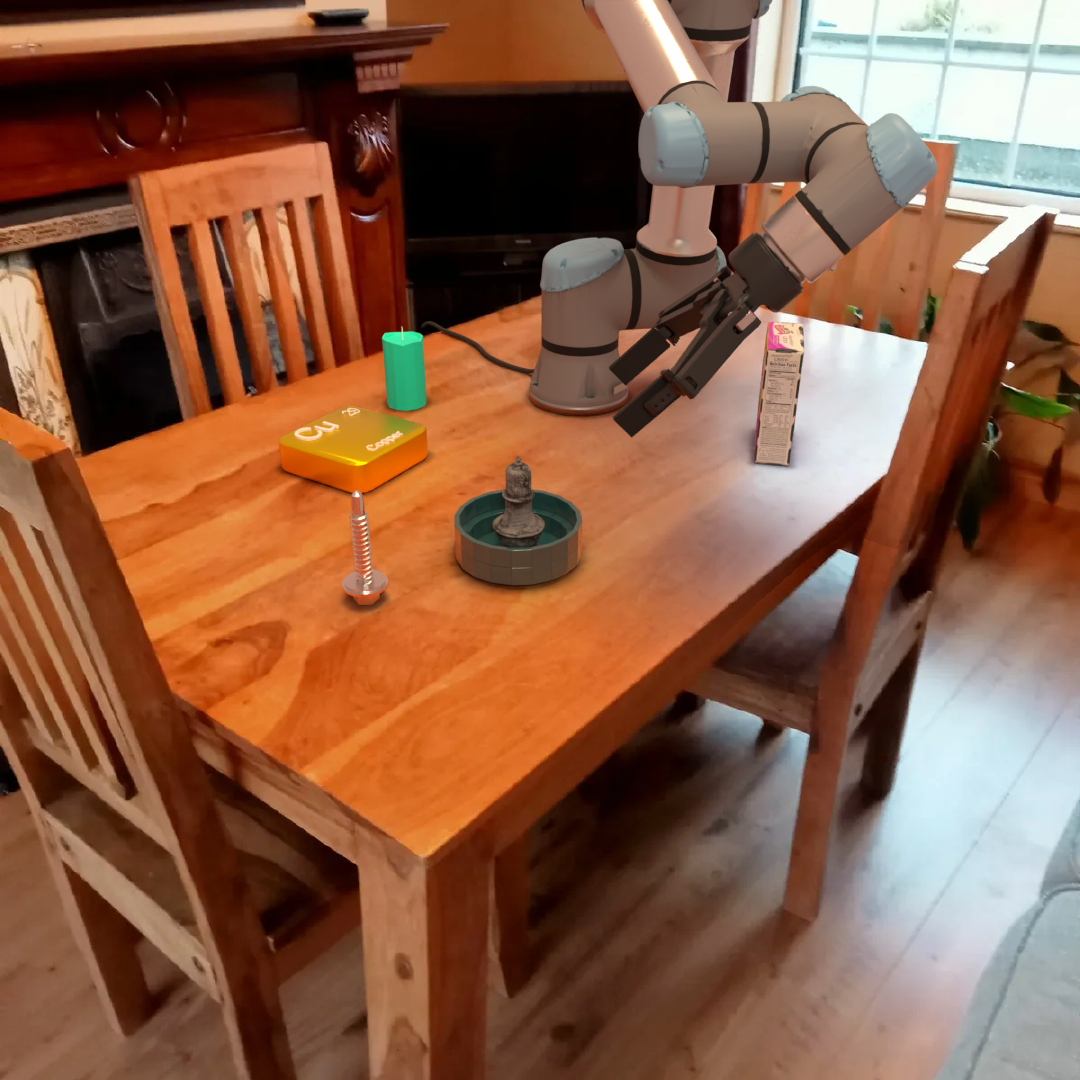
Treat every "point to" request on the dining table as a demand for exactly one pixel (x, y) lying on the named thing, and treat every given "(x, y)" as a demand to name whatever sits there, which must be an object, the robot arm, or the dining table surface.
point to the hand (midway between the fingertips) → (619, 400)
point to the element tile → (353, 448)
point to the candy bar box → (779, 392)
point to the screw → (362, 558)
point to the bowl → (525, 563)
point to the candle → (404, 370)
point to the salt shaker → (518, 510)
